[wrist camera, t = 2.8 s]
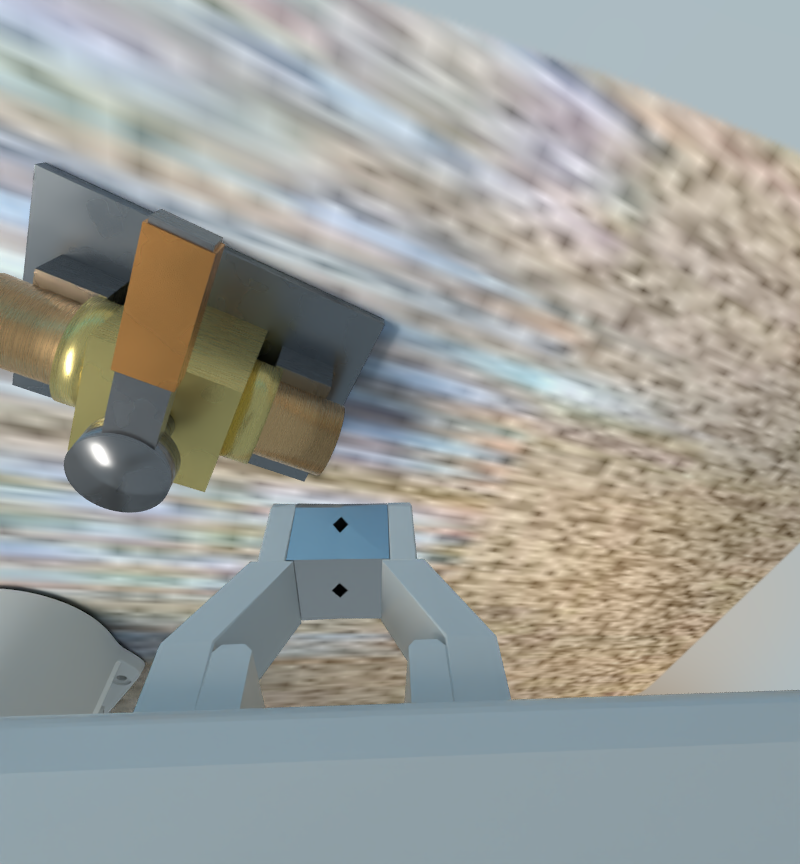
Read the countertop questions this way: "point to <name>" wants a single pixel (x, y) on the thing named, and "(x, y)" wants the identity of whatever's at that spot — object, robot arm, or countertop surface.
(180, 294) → the lever
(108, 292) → the valve
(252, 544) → the countertop surface
